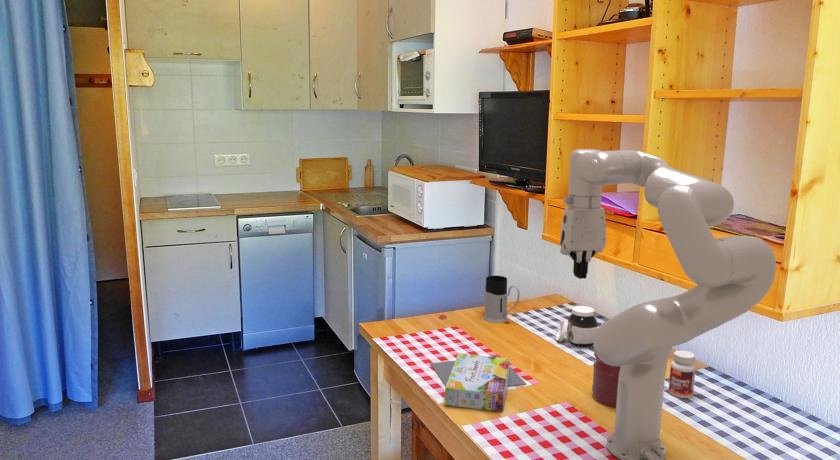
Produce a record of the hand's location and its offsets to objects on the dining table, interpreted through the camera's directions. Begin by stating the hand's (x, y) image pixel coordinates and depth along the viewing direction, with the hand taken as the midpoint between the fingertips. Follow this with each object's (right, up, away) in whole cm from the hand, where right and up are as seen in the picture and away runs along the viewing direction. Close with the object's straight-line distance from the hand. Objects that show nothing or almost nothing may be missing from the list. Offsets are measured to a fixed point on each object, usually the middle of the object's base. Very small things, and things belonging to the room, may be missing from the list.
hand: (580, 277), depth 153 cm
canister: (+13, -33, +15) cm, 39 cm away
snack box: (-15, -29, +16) cm, 37 cm away
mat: (-22, -30, +29) cm, 47 cm away
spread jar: (+12, -25, +53) cm, 60 cm away
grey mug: (-9, -21, +74) cm, 77 cm away
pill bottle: (+31, -33, +17) cm, 48 cm away
